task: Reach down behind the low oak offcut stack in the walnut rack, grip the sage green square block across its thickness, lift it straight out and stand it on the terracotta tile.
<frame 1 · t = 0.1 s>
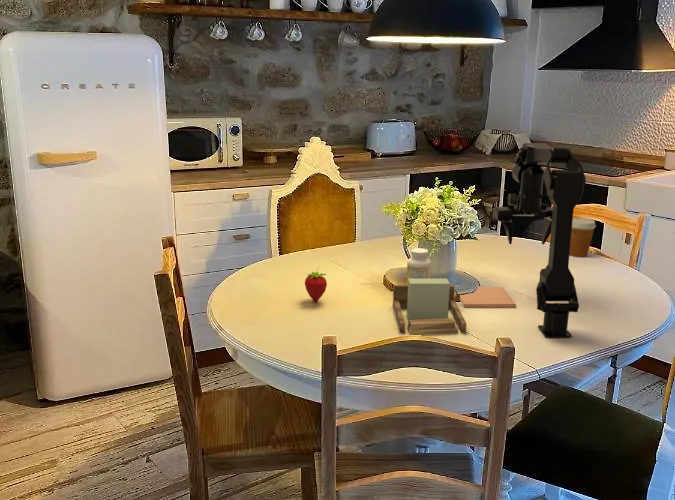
hand: (526, 244, 189), 15 cm above the table, fingers open, 9 cm apart
rack: (427, 317, 175), on the table
disposable coffee cup: (577, 255, 231), on the table
supplement bottle: (417, 294, 192), on the table
sage green square block: (427, 317, 175), resting in rack
tile: (483, 298, 189), on the table
strawberry: (315, 302, 185), on the table
offcut stack: (432, 332, 166), on the table
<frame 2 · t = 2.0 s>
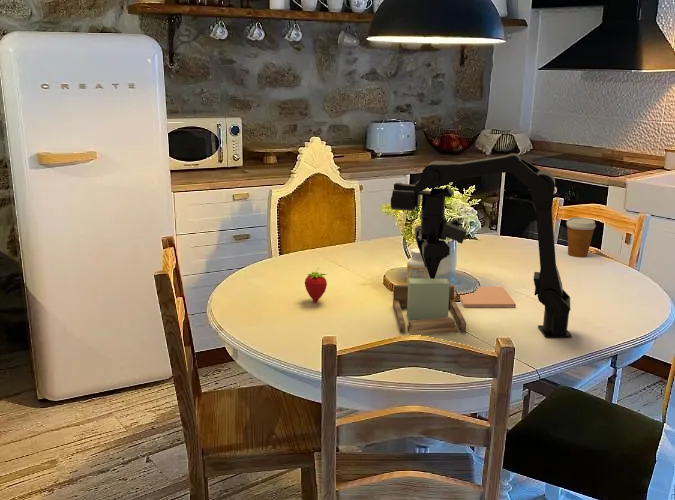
hand: (429, 272, 172), 12 cm above the table, fingers open, 9 cm apart
nothing on the table moved.
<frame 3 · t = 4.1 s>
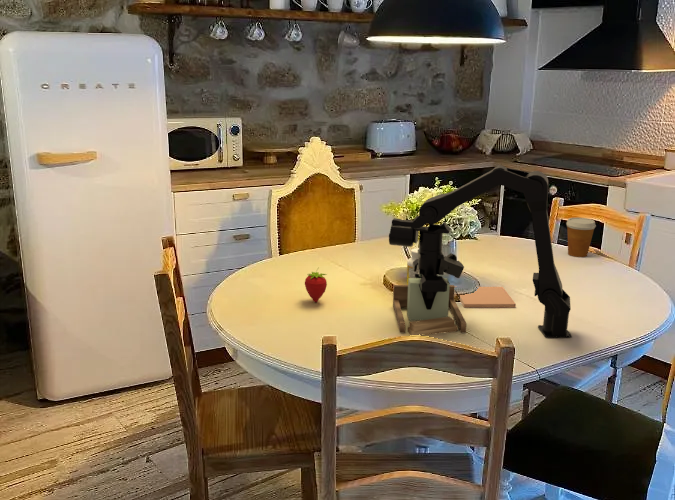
hand: (427, 306, 174), 3 cm above the table, fingers closed on sage green square block, 4 cm apart
sage green square block: (427, 317, 175), resting in rack, touching gripper
everything else where it was.
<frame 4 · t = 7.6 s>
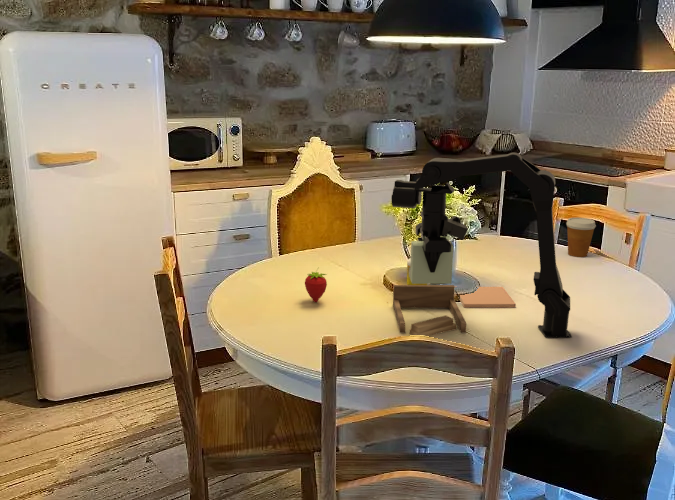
hand: (431, 269, 172), 13 cm above the table, fingers closed on sage green square block, 4 cm apart
sage green square block: (430, 281, 172), point 10 cm above the table, touching gripper
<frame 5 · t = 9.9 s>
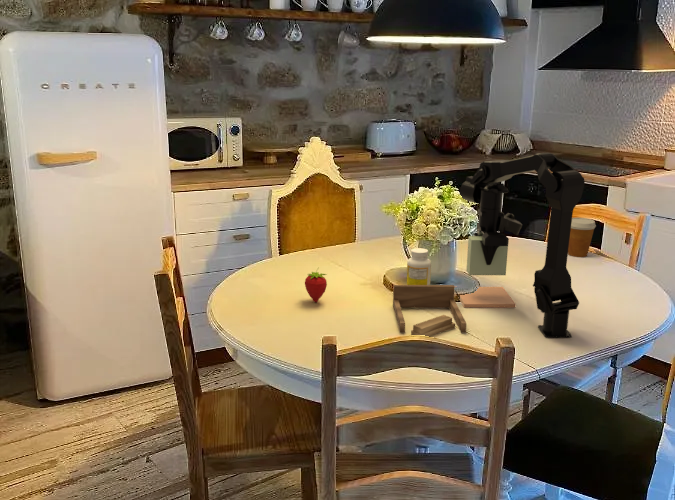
hand: (486, 262, 186), 11 cm above the table, fingers closed on sage green square block, 4 cm apart
sage green square block: (485, 273, 186), point 8 cm above the table, touching gripper
when the fingers open (5 cm above the table, at t = 11.5 s): sage green square block stays where it is, resting on tile.
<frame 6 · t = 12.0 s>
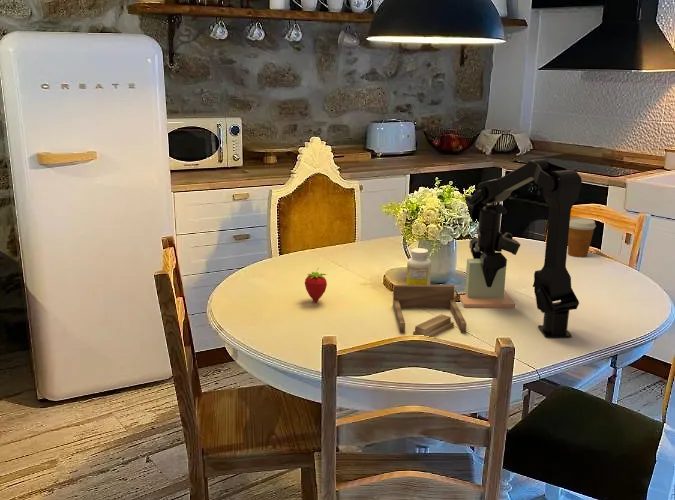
hand: (485, 281, 187), 5 cm above the table, fingers open, 9 cm apart
sage green square block: (484, 295, 188), point 1 cm above the table, touching tile
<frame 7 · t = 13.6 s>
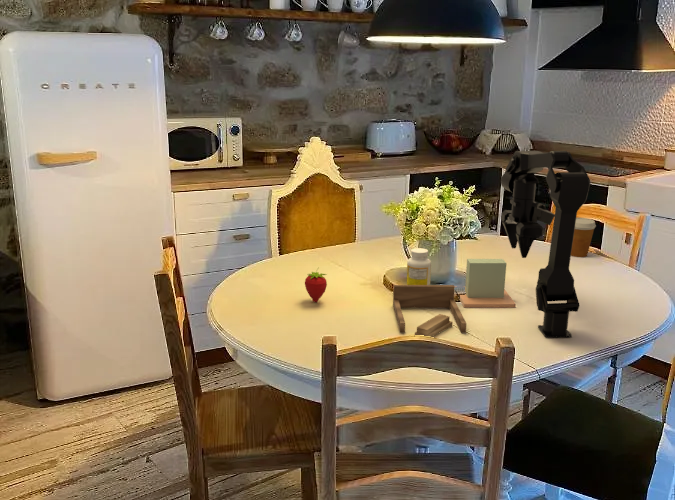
hand: (518, 252, 186), 13 cm above the table, fingers open, 9 cm apart
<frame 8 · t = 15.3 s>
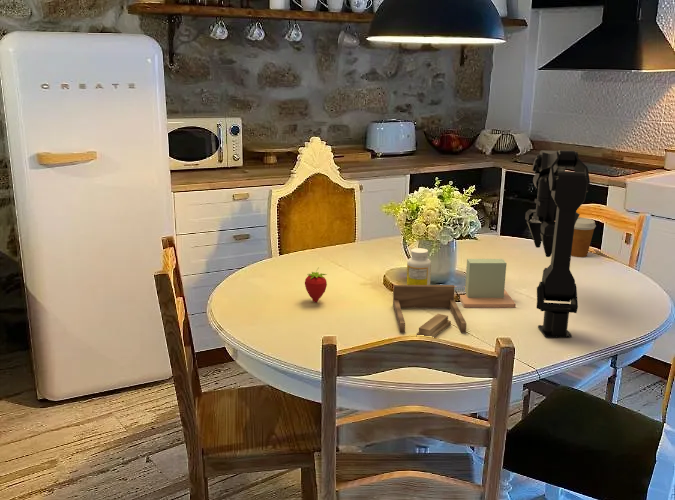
hand: (542, 252, 187), 13 cm above the table, fingers open, 9 cm apart
at the end: sage green square block inside the target area on the tile (0.0 cm from its centre), point 1.0 cm above the tile's base; sage green square block tilted 0°; the gripper is holding nothing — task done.
